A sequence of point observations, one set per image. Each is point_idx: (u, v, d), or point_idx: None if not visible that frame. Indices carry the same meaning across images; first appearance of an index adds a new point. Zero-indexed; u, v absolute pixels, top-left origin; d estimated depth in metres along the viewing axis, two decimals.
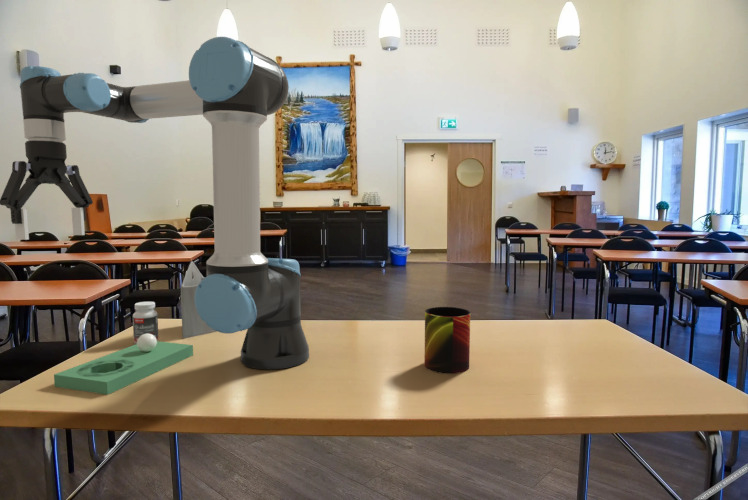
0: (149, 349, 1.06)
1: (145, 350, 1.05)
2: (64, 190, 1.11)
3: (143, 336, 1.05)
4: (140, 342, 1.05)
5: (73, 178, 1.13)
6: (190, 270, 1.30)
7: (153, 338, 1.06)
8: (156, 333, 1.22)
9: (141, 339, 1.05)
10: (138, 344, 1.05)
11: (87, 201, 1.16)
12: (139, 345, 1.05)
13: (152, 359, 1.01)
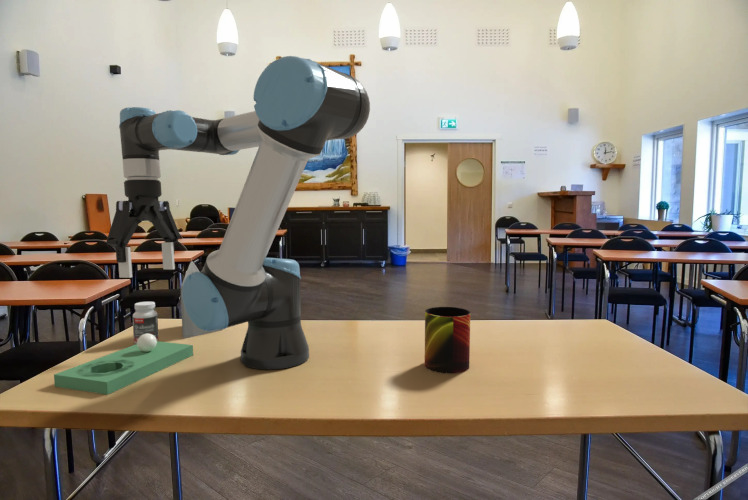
0: (149, 349, 1.06)
1: (145, 350, 1.05)
2: (156, 226, 1.13)
3: (143, 336, 1.05)
4: (140, 342, 1.05)
5: (163, 214, 1.15)
6: (190, 270, 1.30)
7: (153, 338, 1.06)
8: (156, 333, 1.22)
9: (141, 339, 1.05)
10: (138, 344, 1.05)
11: (176, 235, 1.18)
12: (139, 345, 1.05)
13: (152, 359, 1.01)
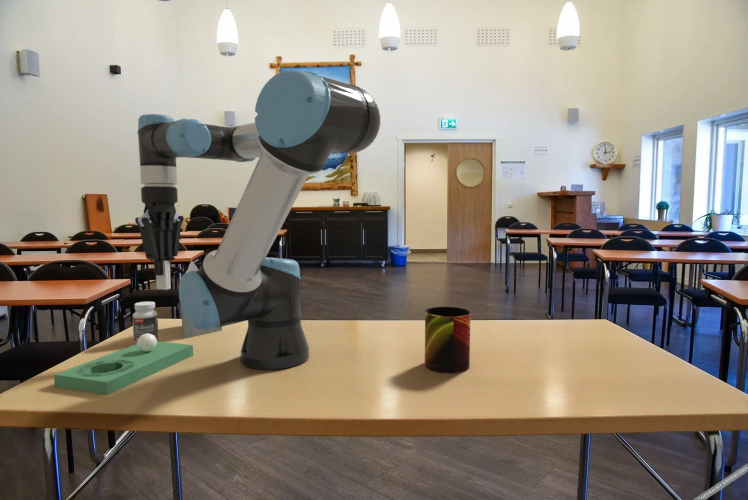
0: (149, 349, 1.06)
1: (145, 350, 1.05)
2: None
3: (143, 336, 1.05)
4: (140, 342, 1.05)
5: (173, 226, 1.14)
6: (190, 270, 1.30)
7: (153, 338, 1.06)
8: (156, 333, 1.22)
9: (141, 339, 1.05)
10: (138, 344, 1.05)
11: (173, 251, 1.13)
12: (139, 345, 1.05)
13: (152, 359, 1.01)
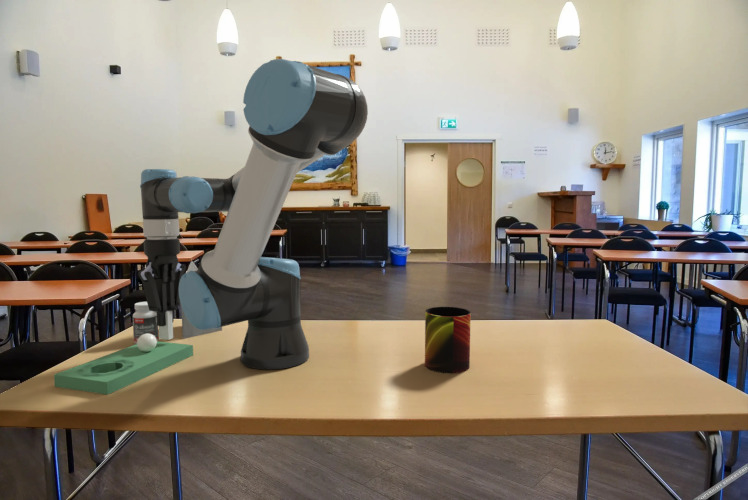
0: (149, 349, 1.06)
1: (145, 350, 1.05)
2: None
3: (143, 336, 1.05)
4: (140, 342, 1.05)
5: (175, 275, 1.15)
6: (190, 270, 1.30)
7: (153, 338, 1.06)
8: (156, 333, 1.22)
9: (141, 339, 1.05)
10: (138, 344, 1.05)
11: (176, 301, 1.14)
12: (139, 345, 1.05)
13: (152, 359, 1.01)
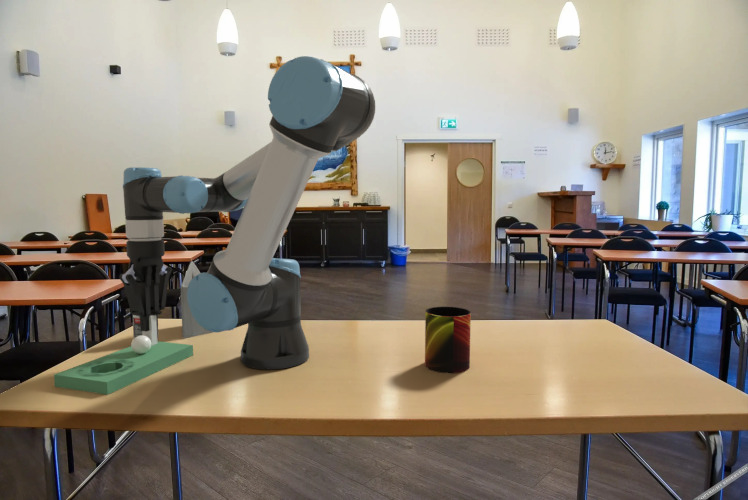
0: (147, 350, 1.05)
1: (144, 352, 1.05)
2: None
3: (134, 344, 1.03)
4: (135, 350, 1.04)
5: (161, 278, 1.10)
6: (190, 270, 1.30)
7: (145, 341, 1.04)
8: None
9: (135, 348, 1.03)
10: (134, 351, 1.04)
11: (160, 305, 1.09)
12: (136, 352, 1.04)
13: (152, 359, 1.01)
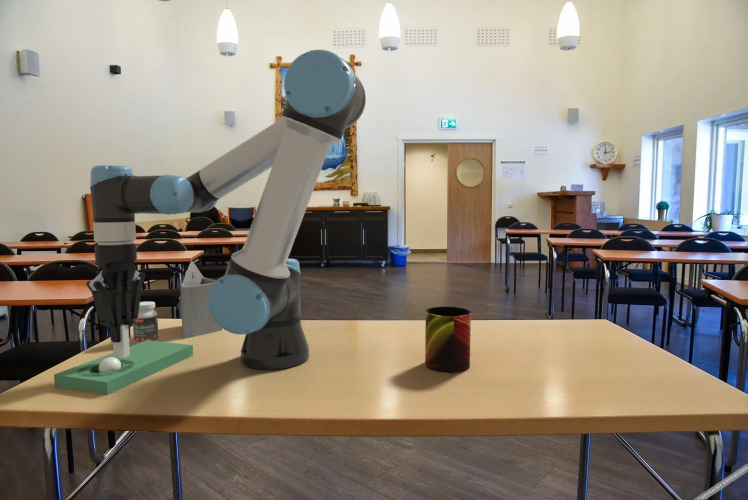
0: (109, 369, 0.96)
1: (106, 367, 0.95)
2: None
3: (115, 358, 0.98)
4: (109, 358, 0.97)
5: (133, 285, 1.02)
6: (190, 270, 1.30)
7: (120, 366, 0.98)
8: (156, 333, 1.22)
9: (113, 357, 0.97)
10: (106, 359, 0.97)
11: (133, 313, 1.01)
12: (106, 359, 0.96)
13: (152, 359, 1.01)
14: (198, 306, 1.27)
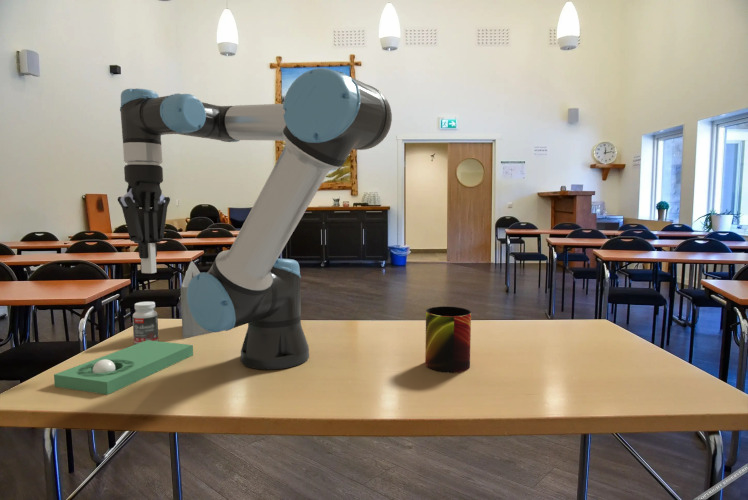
0: None
1: None
2: None
3: (104, 360, 0.95)
4: (98, 365, 0.94)
5: (159, 208, 1.09)
6: (190, 270, 1.30)
7: (113, 365, 0.96)
8: (156, 333, 1.22)
9: (101, 363, 0.95)
10: (95, 367, 0.94)
11: (159, 234, 1.08)
12: (96, 368, 0.94)
13: (152, 359, 1.01)
14: None
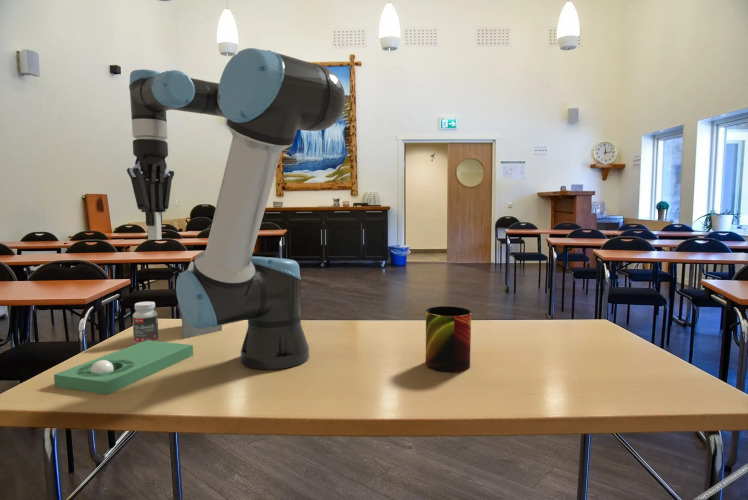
0: None
1: None
2: None
3: (100, 362, 0.95)
4: (95, 368, 0.94)
5: (164, 180, 1.18)
6: (190, 270, 1.30)
7: (111, 366, 0.95)
8: (156, 333, 1.22)
9: (98, 365, 0.94)
10: (93, 370, 0.94)
11: (164, 204, 1.17)
12: (94, 371, 0.94)
13: (152, 359, 1.01)
14: None
